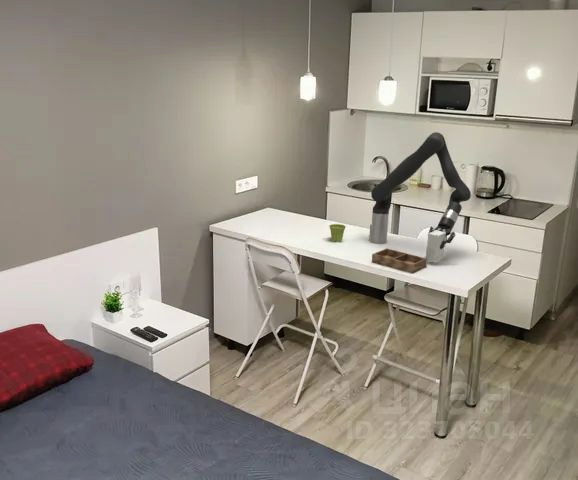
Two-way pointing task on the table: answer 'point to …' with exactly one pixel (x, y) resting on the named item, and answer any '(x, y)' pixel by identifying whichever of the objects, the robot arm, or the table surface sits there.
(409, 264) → the divided wooden tray
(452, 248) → the table surface
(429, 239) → the skincare box
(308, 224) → the table surface
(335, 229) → the plant pot
